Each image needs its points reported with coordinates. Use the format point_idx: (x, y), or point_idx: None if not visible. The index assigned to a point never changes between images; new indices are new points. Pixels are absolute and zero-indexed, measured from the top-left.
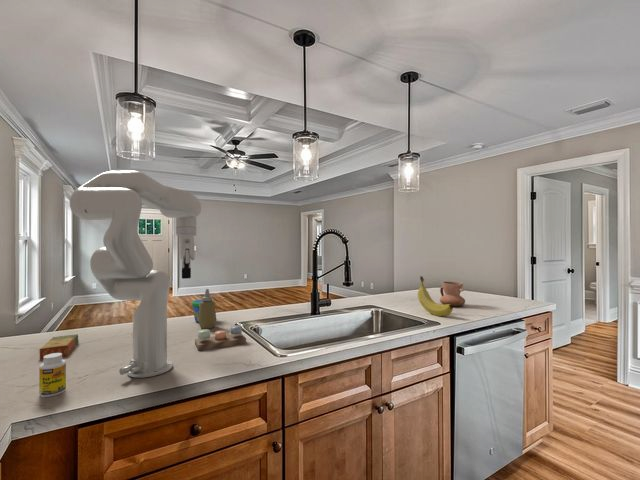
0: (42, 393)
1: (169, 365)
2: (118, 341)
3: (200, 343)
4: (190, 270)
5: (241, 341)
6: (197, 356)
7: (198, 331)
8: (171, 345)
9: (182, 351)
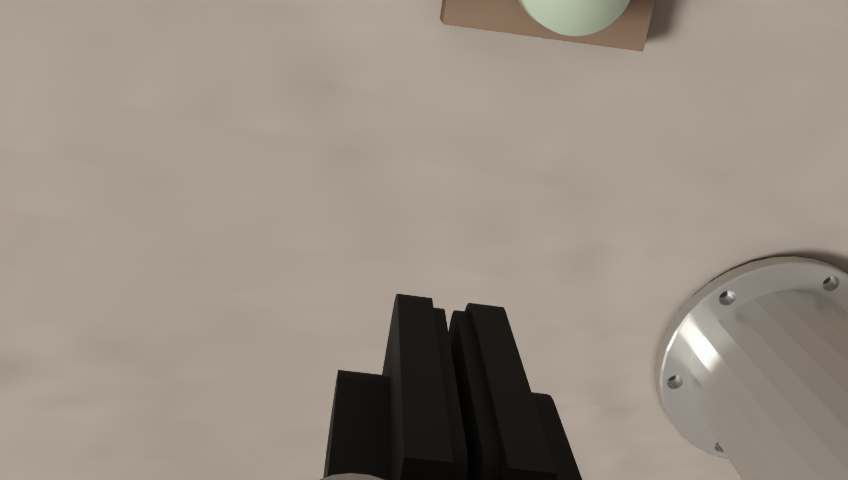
0: None
1: (844, 284)
2: (42, 467)
3: None
4: (539, 427)
5: None
6: (743, 81)
7: (563, 30)
8: (362, 183)
9: (561, 145)
